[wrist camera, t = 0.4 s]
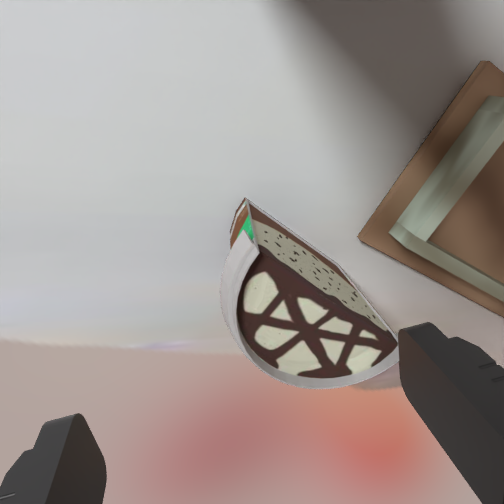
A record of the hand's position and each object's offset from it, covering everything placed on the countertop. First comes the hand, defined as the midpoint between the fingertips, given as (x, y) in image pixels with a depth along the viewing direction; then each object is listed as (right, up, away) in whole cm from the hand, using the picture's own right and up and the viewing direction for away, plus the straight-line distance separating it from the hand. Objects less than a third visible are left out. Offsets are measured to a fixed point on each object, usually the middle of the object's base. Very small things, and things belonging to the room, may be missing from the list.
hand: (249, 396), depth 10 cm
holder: (+20, +6, +22) cm, 30 cm away
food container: (+1, +3, +21) cm, 21 cm away
